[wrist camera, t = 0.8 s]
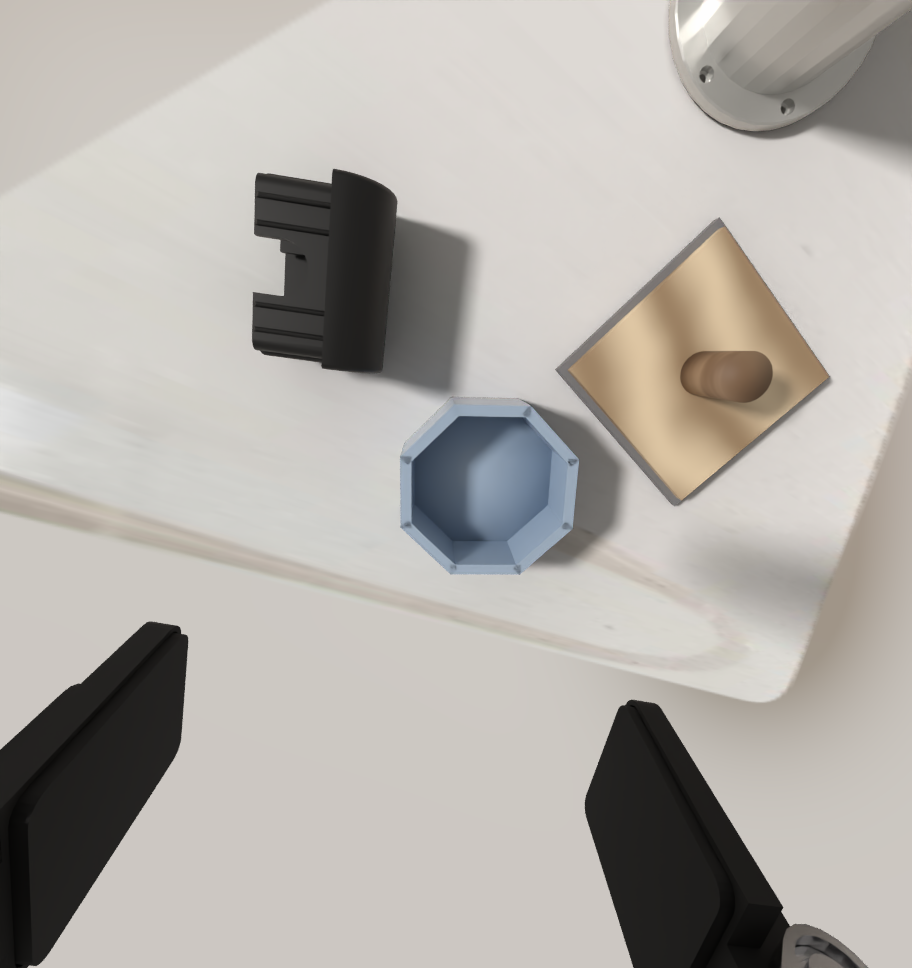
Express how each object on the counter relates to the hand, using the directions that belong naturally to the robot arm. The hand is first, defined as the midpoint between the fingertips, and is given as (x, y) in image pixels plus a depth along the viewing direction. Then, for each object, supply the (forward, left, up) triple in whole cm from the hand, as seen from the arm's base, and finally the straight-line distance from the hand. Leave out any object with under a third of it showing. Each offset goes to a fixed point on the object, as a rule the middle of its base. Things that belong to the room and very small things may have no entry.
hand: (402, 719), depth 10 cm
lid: (-18, +9, -25) cm, 32 cm away
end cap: (-4, -12, -26) cm, 29 cm away
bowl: (-2, +4, -26) cm, 26 cm away
